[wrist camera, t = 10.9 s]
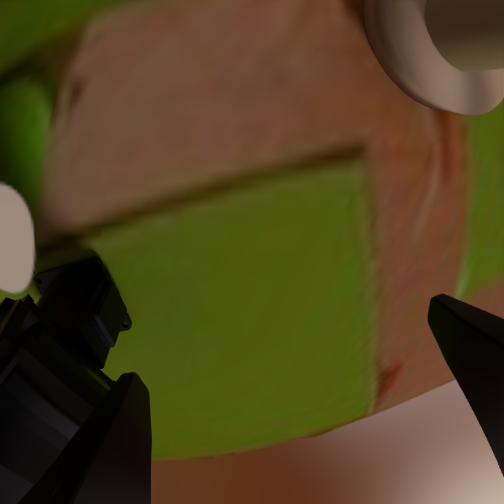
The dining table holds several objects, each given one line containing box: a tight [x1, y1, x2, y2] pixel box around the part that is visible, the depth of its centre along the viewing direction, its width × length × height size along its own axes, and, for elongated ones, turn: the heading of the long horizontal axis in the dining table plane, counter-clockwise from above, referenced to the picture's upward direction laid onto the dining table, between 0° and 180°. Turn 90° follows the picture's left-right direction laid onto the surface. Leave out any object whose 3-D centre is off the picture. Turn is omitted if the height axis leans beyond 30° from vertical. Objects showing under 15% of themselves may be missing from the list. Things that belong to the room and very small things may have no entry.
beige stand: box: [363, 0, 504, 115], centre depth 14 cm, size 12×12×3 cm
